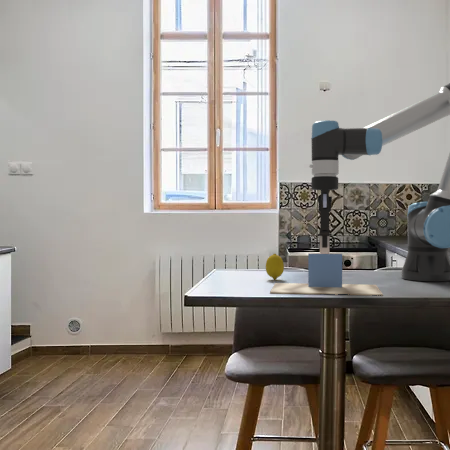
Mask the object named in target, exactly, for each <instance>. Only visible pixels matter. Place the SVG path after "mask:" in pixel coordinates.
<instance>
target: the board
mask: <svg viewBox="0 0 450 450" xmlns="http://www.w3.org/2000/svg"><path fill="white" fill-rule="evenodd" d="M269 294H270V295H271V294H276V295H278V294H279V295H280V294H282V295H320V294H335V295H336V296H339V295H338V294H348V295H347V296H372V295H377V296H378V295H379V296H380V295H381V297H382V296H384V294H383V292H382V291H381V290H380V289H379V287H378V286H377V284H359V283H358V284H353V283H352V284H351V283H350V284H349V283H348V284H347V283H342V287H308V283H301V282H300V283H299V282H298V283H297V282H294V283H293V282H292V283H289V282H288V283H287V282H275V283H274V285H273V286H272V288H271V290H270V292H269ZM349 294H350V295H349ZM335 295H334V296H335ZM377 296H376V297H377ZM379 296H378V297H379Z"/></svg>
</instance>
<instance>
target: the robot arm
mask: <svg viewBox="0 0 450 450" xmlns="http://www.w3.org/2000/svg"><path fill="white" fill-rule="evenodd" d="M448 116H450V83H448V84H445V85H443V86H441V87H440V89H439V91H438V92H437V93H435V94H432V95H430V96H428V97H426V98H423V99H422V100H420V101H417V102H415V103H413V104H411V105H409V106H407V107H404V108H402V109H401V110H398V111H396V112H394V113H392V114H389V115H388V116H386V117H383V118H380V119H379V120H377V121H375V122H373V123H371V124H369V125H366V126H364V127H362V128H361V127H360V128H359V127H356V128H354V127H353V128H345V127H343V128H342V127H340V125H339V122H338V121H336V120H328V119H327V120H317V121H315V122H313V124H312V126H311V138H310V139H311V164H309V166H308V167H309V168H310V169H311V175H312V176H313V177H311V190H313V191H320V196H317V203H318V212H319V213H320V214H319V215H320V221H319V222H320V225H319V228H320V230H319V233H317V237H319V253H330V237H331V236H333V235H332V233H331V232H330V212H331V211H332V202H333V196H330V191H337V190H339V177H338V175H339V164H340V163H339V156H342V157H343V158H345V159H347V160H351V161H353V160H357V159H359V158H360V157H362V156H372V155H373V156H376V155H377V156H378V155H379V154H380V153H381V151H382V148H383V147H384V146H386V145H387V144H390V143H392V142H394V141H396V140H399V139H400V138H402V137H405V136H406V135H409V134H411V133H413V132H415V131H418V130H420V129H422V128H424V127H426V126H429V125H431V124H433V123H435V122H437V121H439V120H441V119H443V118H444V119H445V118H446V117H448ZM406 216H407V255H406V257H405V260H404V263H403V266H402V269H401V279H403V280H409V281H418V282H449V281H450V257H449V256H450V255H449V249H450V152H449V154H448V156H447V159H446V162H445V166H444V169H443V172H442V175H441V177H440V181H439V184H438V187H437V190H436V191H434V192H432V193H431V194H429V197H428V200H427V201H420V202H415V203H412V204H410V205H409V206H408V209H407V215H406Z"/></svg>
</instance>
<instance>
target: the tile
mask: <svg viewBox="0 0 450 450" xmlns="http://www.w3.org/2000/svg"><path fill="white" fill-rule="evenodd" d="M307 257H308V259H307V261H308V263H307V265H308V266H307V267H308V271H307V274H308V276H307V277H308V283H307V284H308V287H342V284H343V253H330V252H329V253H320V252H317V253H315V252H314V253H312V252H310V253H309V252H308V256H307Z"/></svg>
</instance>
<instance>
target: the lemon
mask: <svg viewBox="0 0 450 450" xmlns="http://www.w3.org/2000/svg"><path fill="white" fill-rule="evenodd" d="M284 270H285V263H284V260H283V258H282V257H281V256H280V255H278V254H277V253H273V254H271V255H270V256H269V257H267V260H266V262H265V272H266V274H267V276H269V277H270V278H272V280H277V279H278V278H279V277H282V275H283V273H284Z"/></svg>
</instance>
